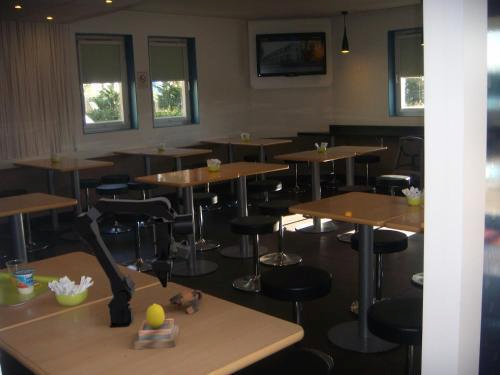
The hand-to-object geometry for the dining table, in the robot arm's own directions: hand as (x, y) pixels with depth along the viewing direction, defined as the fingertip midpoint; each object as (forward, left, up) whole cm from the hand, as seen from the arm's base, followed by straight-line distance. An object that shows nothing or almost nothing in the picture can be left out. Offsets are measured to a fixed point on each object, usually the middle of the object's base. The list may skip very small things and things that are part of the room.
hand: (166, 282), depth 187 cm
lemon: (-2, -15, -10) cm, 18 cm away
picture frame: (-2, -15, -13) cm, 20 cm away
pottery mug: (+5, +10, -13) cm, 17 cm away
